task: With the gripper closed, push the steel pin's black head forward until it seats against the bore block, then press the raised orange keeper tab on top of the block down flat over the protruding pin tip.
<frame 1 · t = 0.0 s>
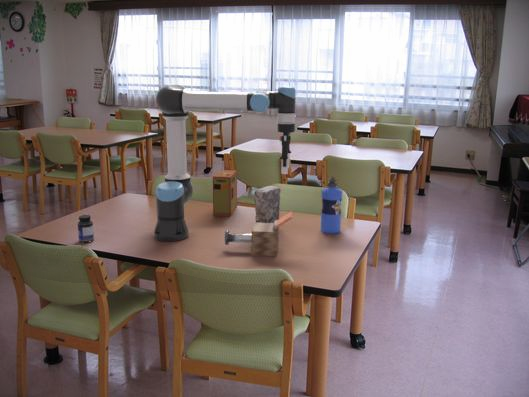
hand: (285, 170, 238), 28 cm above the table, fingers open, 13 cm apart
pin: (246, 238, 219), point 5 cm above the table, slide at 0.0 cm
keeper: (282, 220, 216), point 13 cm above the table, hinge at 35.0°
water bottle: (330, 231, 246), on the table
pill bottle: (86, 241, 230), on the table
bore block: (265, 250, 219), on the table
box: (225, 211, 277), on the table
stone block: (267, 230, 246), on the table
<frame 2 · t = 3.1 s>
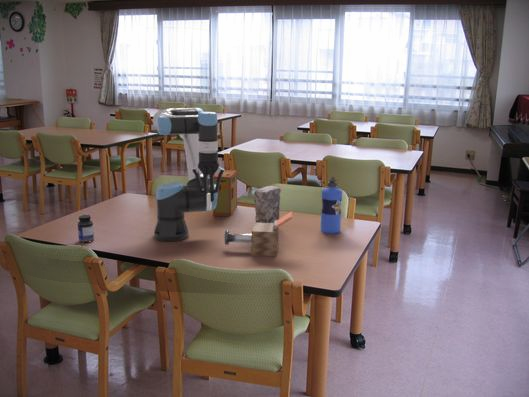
hand: (209, 209, 217), 17 cm above the table, fingers closed
nothing on the table moved.
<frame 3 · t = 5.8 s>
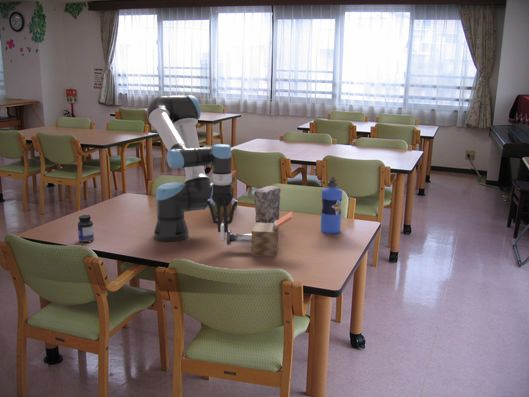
hand: (223, 239, 220), 4 cm above the table, fingers closed
pin: (248, 238, 219), point 5 cm above the table, slide at 0.8 cm, touching gripper
everything else where it was.
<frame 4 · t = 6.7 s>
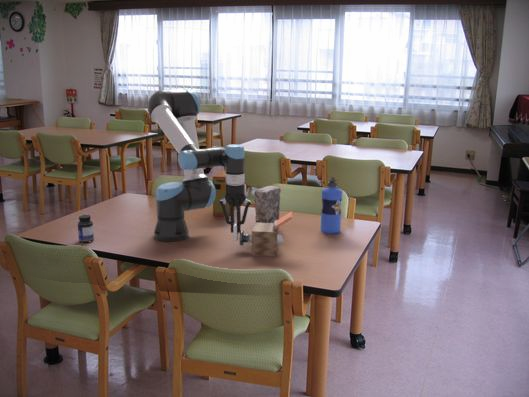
hand: (235, 240, 219), 4 cm above the table, fingers closed
pin: (261, 238, 218), point 5 cm above the table, slide at 6.0 cm, touching gripper
everything else where it was.
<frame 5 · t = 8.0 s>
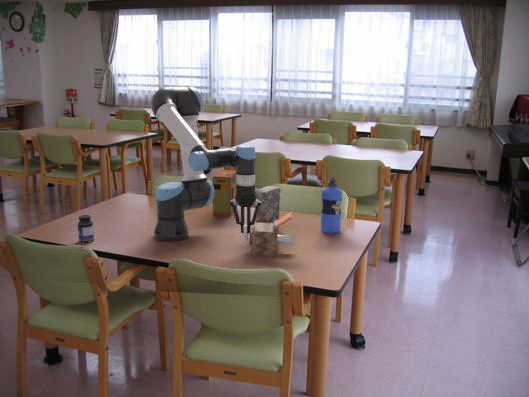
hand: (245, 240, 219), 4 cm above the table, fingers closed
pin: (271, 239, 218), point 5 cm above the table, slide at 10.1 cm, touching gripper
everything else where it was.
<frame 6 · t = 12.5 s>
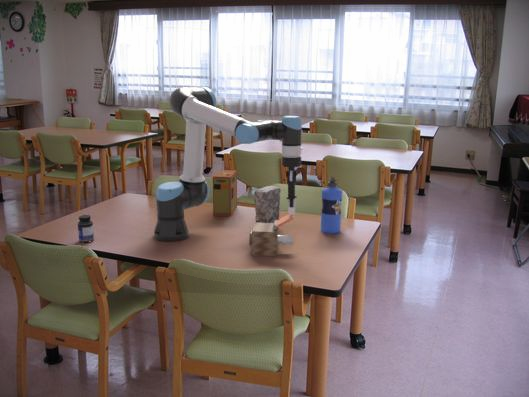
hand: (291, 214, 214), 16 cm above the table, fingers closed
pin: (271, 239, 218), point 5 cm above the table, slide at 10.0 cm
keeper: (283, 220, 216), point 13 cm above the table, hinge at 31.6°, touching gripper
everything else where it was.
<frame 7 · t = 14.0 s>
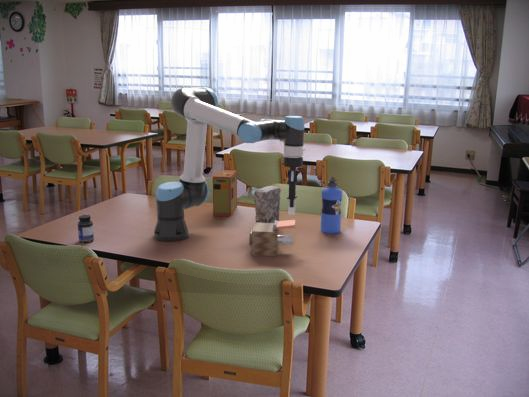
hand: (291, 214, 215), 16 cm above the table, fingers closed
keeper: (284, 224, 216), point 11 cm above the table, hinge at 6.6°
everything else where it was.
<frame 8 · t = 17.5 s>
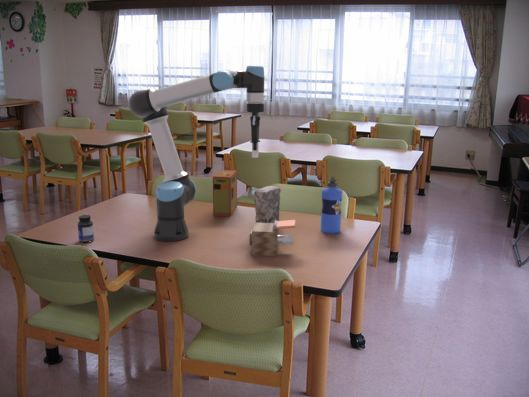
hand: (255, 157, 235), 34 cm above the table, fingers closed
nothing on the table moved.
at the end: pin slide at 10.0 cm; keeper at +6° (first picture: +35°) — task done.
